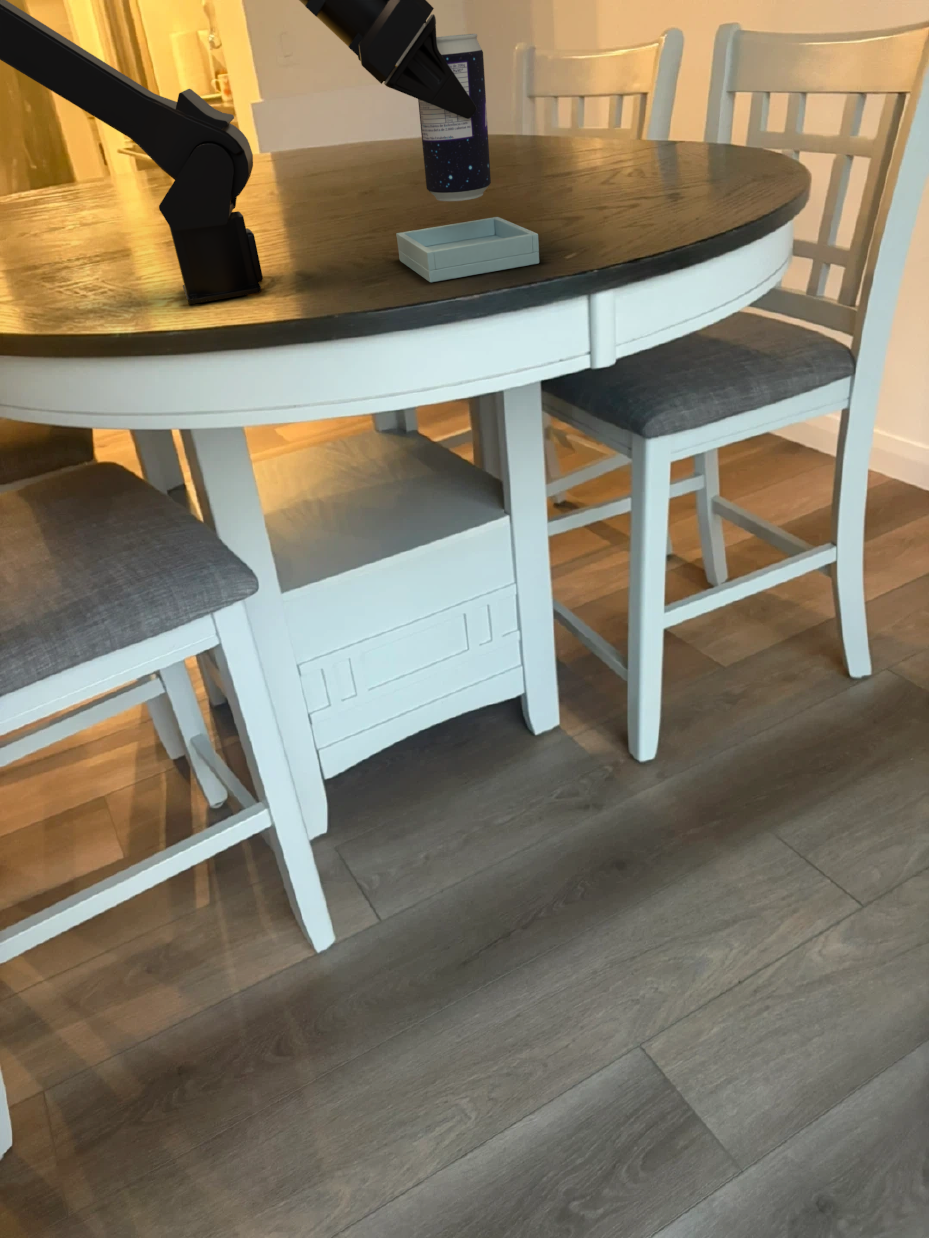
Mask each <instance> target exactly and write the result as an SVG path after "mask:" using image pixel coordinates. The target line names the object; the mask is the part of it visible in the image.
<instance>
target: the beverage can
mask: <svg viewBox="0 0 929 1238" xmlns="http://www.w3.org/2000/svg"><path fill="white" fill-rule="evenodd" d="M436 38H437V48H438V50H439V52H440V53H441V55H442V56H443V58H444V59H445V61H446V62H447V64H448V65H449V67H450V68H451V70H452V71H453V73H454V74H455V76H456V77H457V79H458V80H459V82H460V83H461V85H462V86H463V88H464V89H465V91H466V92H467V94H468V95H469V97H470V98H471V99H472V101H473V102H474V104H475V105H476V108H477V109H476V111H475V113H474V114H473V115H472V117H471V118H470V119H466V118H464V117H461V116H459V115H457V114H454V113H452V112H449V111H447V110H444V109H442V108H439V107H437V106H434V105H432V104H429V103H427V102H424V101H422V100H419V99H417V101H418V102H417V104H418V113H419V114H418V115H419V122H420V133H421V145H422V155H423V166H424V176H425V186H426V190H427V191H428V192H429V193H431V195H432V196H434V197H435V199H436V201H439V202H462V201H468V200H474V199H479V198H481V197H482V196H484V192H485V191H486V190H487V189H488V188H489V186H490V185H491V182H492V180H491V163H490V146H489V145H490V144H489V127H488V126H489V125H488V112H487V110H488V109H487V96H486V95H487V94H486V81H485V79H486V78H485V77H486V75H485V62H484V51H483V49H482V47H481V44H480V43H479V41H478V33H467V34H454V35H443V36H442V35H441V36H436Z"/></svg>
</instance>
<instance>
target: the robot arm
mask: <svg viewBox="0 0 929 1238" xmlns="http://www.w3.org/2000/svg"><path fill="white" fill-rule="evenodd" d="M298 1H299V2H300V3H301V4H302V5H303V6H304V7H305V8H306V9H307V10H308V11H309V12H311V14H313V15H314V17H316V18H317V19H318V20H319V21H320V22H321V23H323V25H324V26H326V27H327V28H328V29H329V30H330V31H331V32H332V33H333V34H334V35H335V36H336V37H337V38H339V40H341V42H342V43H344V44H345V45H346V46H347V47H348V48H349V49H350V51H352V52H353V53H354V54H355V55H356V56H357V59H358V60H359V62H360V66H362V68H363V69H365V70H366V71H367V72H368V73H369V74H370V75H371V76H372V77H373V78H374V79H375V80H376V81H377V82H379V83H380V84H381V85H384V86H385V87H386V88H389V89H391V90H395V91H397V92H399V93H402V94H405V95H406V96H409V97H412V98H415V99H417V100H418V99H419V100H422V101H424V102H427V103H429V104H432V105H434V106H437V107H439V108H442V109H444V110H447V111H449V112H452V113H454V114H457V115H459V116H461V117H464V118H466V119H470V118H471V117H472V115H473V114H474V113H475V111H476V109H477V108H476V105H475V104H474V102H473V101H472V99H471V98H470V97H469V95H468V94H467V92H466V91H465V89H464V88H463V86H462V85H461V83H460V82H459V80H458V79H457V77H456V76H455V74H454V73H453V71H452V70H451V68H450V67H449V65H448V64H447V62H446V61H445V59H444V58H443V56H442V55H441V53H440V52H439V50H438V48H437V38H436V37H437V19H436V15H435V14H432V12H433V11H434V9H435V8H434V7H433V5H431V4H430V3H429V2H428V0H298ZM0 61H1V62H3V63H5V64H6V65H8V66H10V67H11V68H13V69H15V70H16V71H18V72H20V73H21V74H22V75H24V76H26V77H27V78H30V79H31V80H33V81H35V82H36V83H38V84H40V85H41V86H43V87H45V88H46V89H48V90H50V91H51V92H53V93H55V94H56V95H58V96H59V97H61V98H63V99H65V101H67V102H69V103H71V104H73V105H74V106H76V107H77V108H80V109H81V110H82V111H83V112H84V111H85V112H86V113H88V114H89V115H91V116H93V117H94V118H96V119H97V120H99V121H100V122H102V123H103V124H106V125H107V126H109V127H110V128H113V129H114V130H116V131H117V132H119V133H121V134H122V135H124V136H125V137H128V138H129V139H130V140H131V141H133V142H134V143H135V144H137V146H138V147H139V148H140V149H141V150H142V151H143V152H144V153H145V154H146V155H147V156H148V157H149V158H150V159H151V160H152V161H153V162H154V163H155V164H156V165H157V166H158V167H159V169H161V170H162V171H163V172H164V173H166V174H167V175H168V176H169V177H171V178H172V179H173V182H172V184H171V186H170V187H169V188H168V189H167V190H168V191H167V192H166V193H165V195H164V197H163V198H162V200H161V201H160V203H159V205H158V210H159V212H160V213H161V215H162V216H163V219H164V220H165V221H166V223H167V225H168V227H169V231H170V235H171V238H172V243H173V246H174V251H175V255H176V258H177V262H178V266H179V271H180V275H181V278H182V282H183V284H182V288H183V292H184V296H185V298H186V302H187V304H188V305H195V304H201V303H206V302H212V301H213V302H214V301H218V300H224V299H231V298H235V297H242V296H246V295H247V296H248V295H253V294H259V293H261V292H263V291H262V286H261V283H262V282H263V280H264V276H263V271H262V267H261V262H260V257H259V253H258V252H259V251H258V247H257V243H256V242H257V241H256V238H255V233H254V232H253V231H252V230H251V229H249V228H246V221H245V218H244V215H243V214H242V213H241V211H240V210H237V211H234V209H235V208H236V206H237V198H238V197H239V196H240V195H241V193H242V192H243V191H244V189H245V188H246V185H247V184H248V181H249V180H250V178H251V175H252V171H253V167H254V156H253V155H254V154H253V151H252V148H251V144H250V142H249V139H248V137H246V135H245V134H244V133H243V132H242V131H241V129H240V128H238V127H237V126H236V125H234V124H233V123H231V122H232V121H233V120H234V119H235V115H234V114H232V113H227V112H223V111H221V110H219V109H216V108H214V107H213V106H211V104H209V103H208V102H207V101H206V100H205V99H204V98H203V97H201V96H200V95H199V94H198V93H197V92H195V91H194V90H193V89H191V88H187V89H185V90H182V91H180V92H179V93H178V96H177V101H176V100H173V99H169V98H167V97H164V96H161V95H159V94H156V93H154V92H153V91H151V90H150V89H148V88H147V87H145V86H143V85H142V84H140V83H138V82H137V81H135V80H133V79H132V78H130V77H129V76H127V75H125V74H124V73H122V72H121V71H120V70H119V69H118V70H117V69H116V68H114V67H113V66H111V65H110V64H109V63H106V62H105V61H103V60H101V59H100V58H98V57H97V56H95V55H94V54H92V53H91V52H89V51H87V50H86V49H84V48H83V47H81V46H80V45H78V44H76V43H75V42H73V41H71V40H70V39H68V38H67V37H65V36H64V35H62V34H60V33H59V32H57V31H56V30H54V29H52V28H51V27H49V26H47V25H46V24H44V23H43V22H41V21H40V20H38V19H37V18H35V17H34V16H32V15H30V14H29V13H27V12H25V11H24V10H23V9H21V8H19V7H18V6H16V5H15V4H13V3H11V2H10V1H8V0H0Z"/></svg>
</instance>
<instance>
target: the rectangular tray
mask: <svg viewBox="0 0 929 1238" xmlns="http://www.w3.org/2000/svg"><path fill="white" fill-rule="evenodd" d="M395 235H396V241H397V250H398V257H399V258H398V259H399V261H400V262H401V263H402V264H404V265H405V266H406V267H408V268H409V269H410V270H412V271H414V272H415V273H416V274H417V275H419V276H420V277H422V278H423V279H425V280H426V281H427V282H429V283H431V284H432V283H437V282H443V281H447V280H453V279H454V280H455V279H459V278H465V277H471V276H477V275H482V274H483V275H484V274H488V273H493V272H500V271H505V270H510V269H515V268H521V267H526V266H533V265H538V264H540V246H539V245H540V244H539V233H537V232H534V231H532V230H530V229H527V228H526V227H523V226H520V225H518V224H516V223H513V222H511V221H509V220H506V219H505V218H501V217H499V216H493V217H488V218H487V217H486V218H481V219H475V220H469V221H464V222H457V223H451V224H445V225H438V226H431V227H426V228H421V229H414V230H408V231H403V232H396V234H395Z"/></svg>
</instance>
